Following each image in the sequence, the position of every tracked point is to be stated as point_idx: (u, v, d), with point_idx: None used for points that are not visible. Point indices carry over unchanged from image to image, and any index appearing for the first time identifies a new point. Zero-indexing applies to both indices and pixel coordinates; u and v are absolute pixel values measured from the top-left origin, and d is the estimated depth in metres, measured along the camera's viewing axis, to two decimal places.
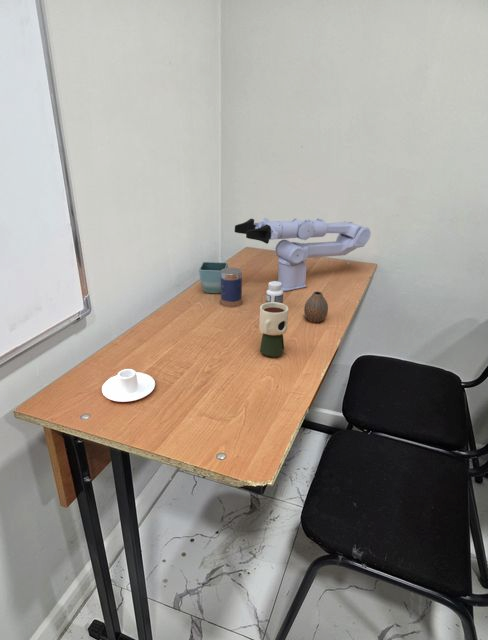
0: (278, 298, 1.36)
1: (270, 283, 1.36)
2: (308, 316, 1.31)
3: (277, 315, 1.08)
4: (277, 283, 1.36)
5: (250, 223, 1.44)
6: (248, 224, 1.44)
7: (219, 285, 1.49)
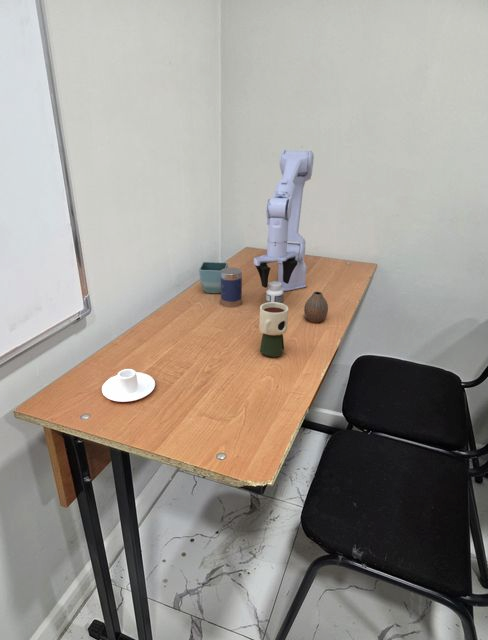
0: (278, 298, 1.36)
1: (270, 283, 1.36)
2: (308, 316, 1.31)
3: (277, 315, 1.08)
4: (277, 283, 1.36)
5: None
6: None
7: (219, 285, 1.49)
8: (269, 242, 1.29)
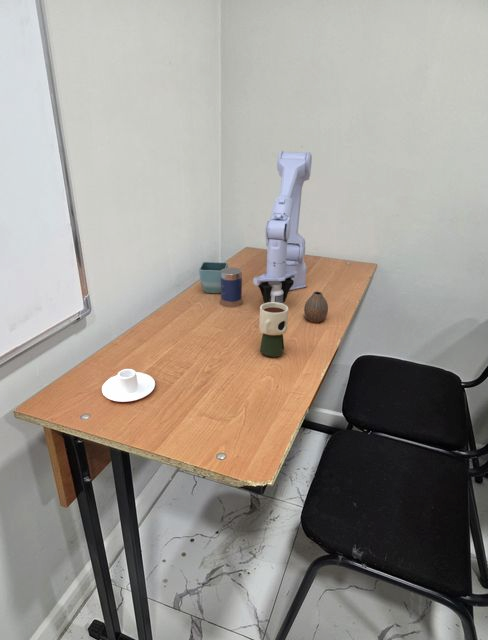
0: (278, 298, 1.36)
1: (270, 283, 1.36)
2: (308, 316, 1.31)
3: (277, 315, 1.08)
4: (277, 283, 1.36)
5: None
6: None
7: (219, 285, 1.49)
8: (268, 262, 1.32)
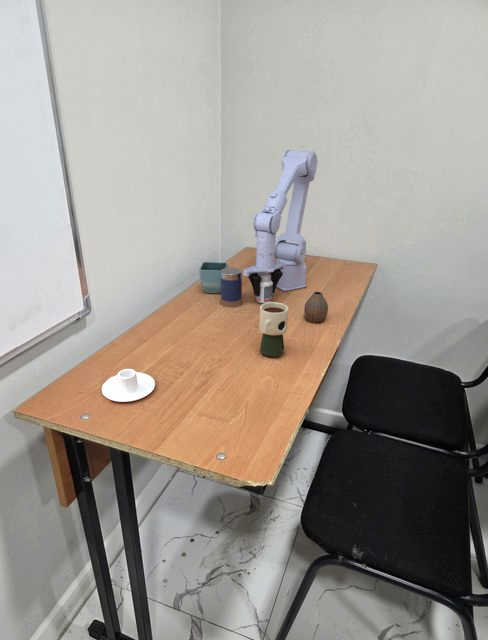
0: (268, 289, 1.41)
1: (260, 274, 1.41)
2: (308, 316, 1.31)
3: (277, 315, 1.08)
4: (267, 274, 1.41)
5: None
6: None
7: (219, 285, 1.49)
8: (258, 254, 1.36)
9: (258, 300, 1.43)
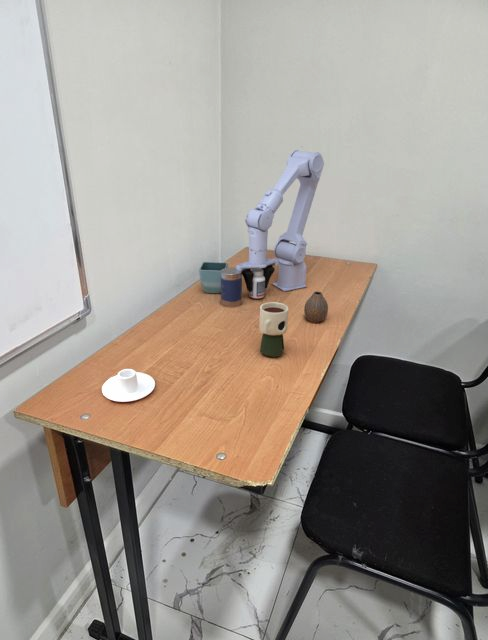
0: (260, 285, 1.44)
1: (253, 270, 1.45)
2: (308, 316, 1.31)
3: (277, 315, 1.08)
4: (259, 270, 1.44)
5: None
6: None
7: (219, 285, 1.49)
8: (250, 250, 1.40)
9: (251, 295, 1.47)
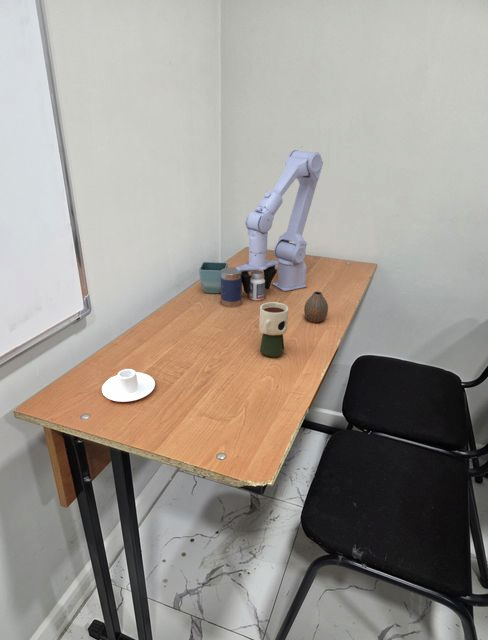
0: (260, 287, 1.45)
1: (253, 272, 1.45)
2: (308, 316, 1.31)
3: (277, 315, 1.08)
4: (259, 272, 1.45)
5: None
6: None
7: (219, 285, 1.49)
8: (250, 252, 1.40)
9: (251, 297, 1.47)
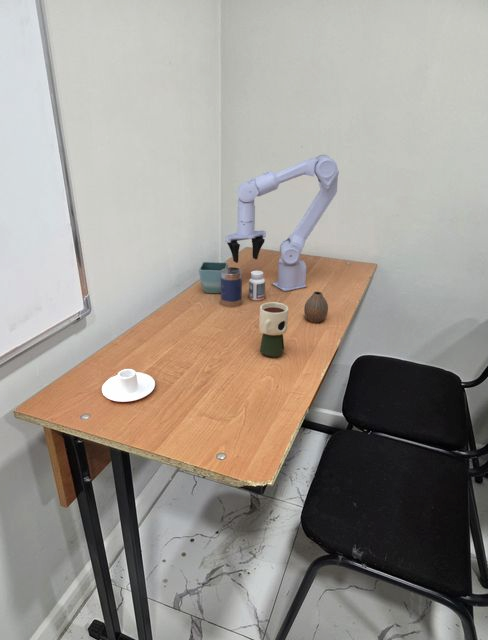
0: (260, 287, 1.45)
1: (253, 272, 1.45)
2: (308, 316, 1.31)
3: (277, 315, 1.08)
4: (259, 272, 1.45)
5: None
6: None
7: (219, 285, 1.49)
8: (238, 221, 1.46)
9: (251, 297, 1.47)
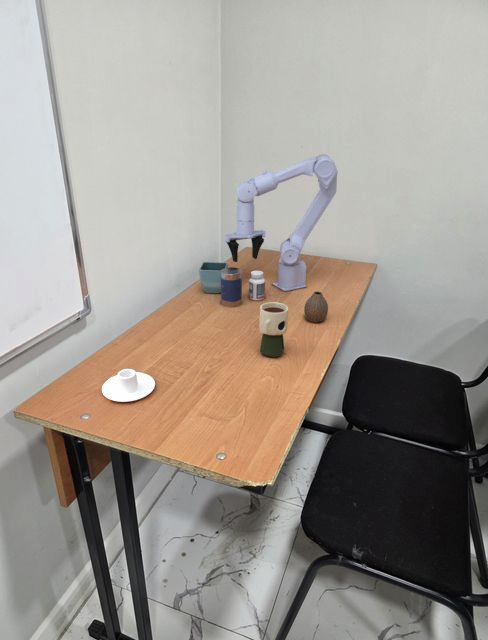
0: (260, 287, 1.45)
1: (253, 272, 1.45)
2: (308, 316, 1.31)
3: (277, 315, 1.08)
4: (259, 272, 1.45)
5: None
6: None
7: (219, 285, 1.49)
8: (238, 221, 1.47)
9: (251, 297, 1.47)
